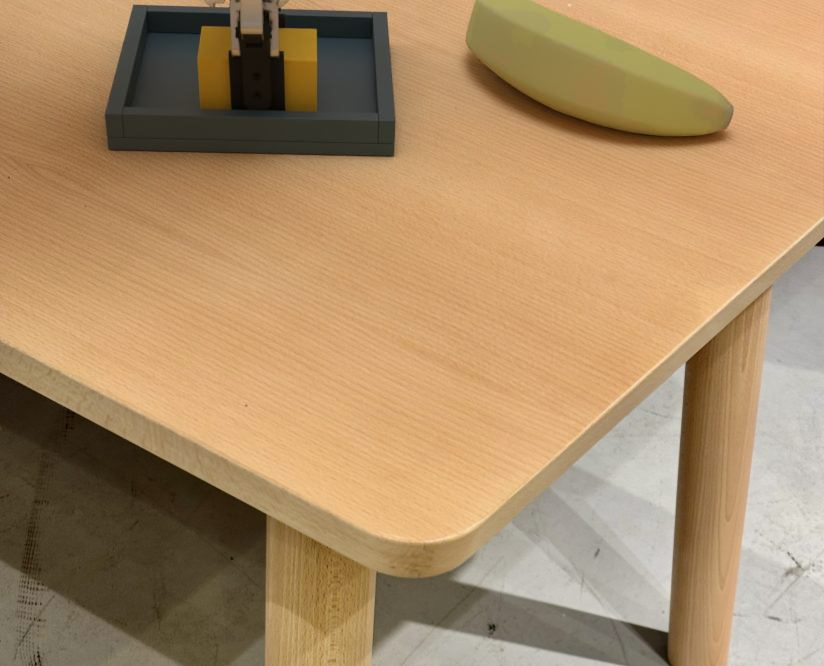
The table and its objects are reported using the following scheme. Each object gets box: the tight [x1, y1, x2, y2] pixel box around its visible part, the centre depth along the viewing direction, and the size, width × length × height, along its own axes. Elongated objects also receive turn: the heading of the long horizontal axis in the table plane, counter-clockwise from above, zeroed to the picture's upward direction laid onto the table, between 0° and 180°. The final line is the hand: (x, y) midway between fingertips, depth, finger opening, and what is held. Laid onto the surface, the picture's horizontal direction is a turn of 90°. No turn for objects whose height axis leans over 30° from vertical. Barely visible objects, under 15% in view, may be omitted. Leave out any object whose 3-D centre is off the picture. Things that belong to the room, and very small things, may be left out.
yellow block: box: [197, 26, 317, 112], centre depth 84 cm, size 7×5×4 cm, turn 93°
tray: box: [104, 4, 397, 157], centre depth 88 cm, size 17×16×2 cm
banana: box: [465, 0, 735, 137], centre depth 91 cm, size 14×6×20 cm
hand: (259, 93), depth 85 cm, fingers closed on yellow block, 4 cm apart
